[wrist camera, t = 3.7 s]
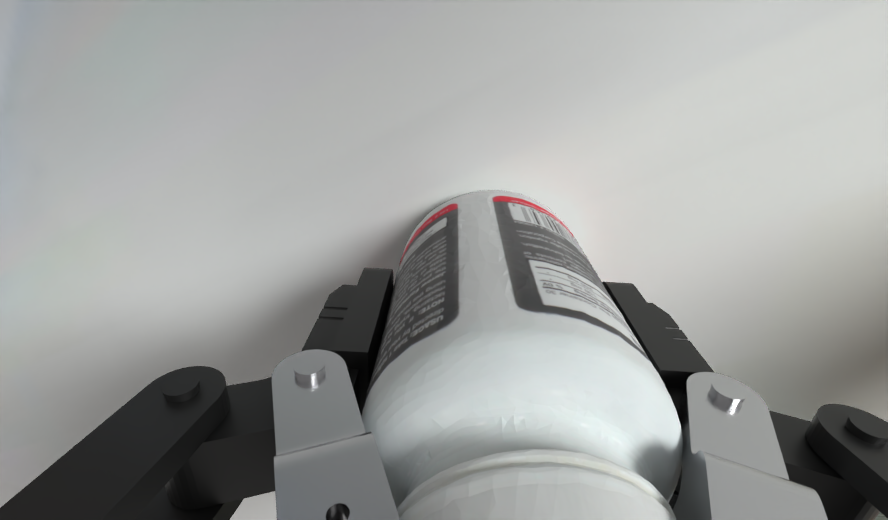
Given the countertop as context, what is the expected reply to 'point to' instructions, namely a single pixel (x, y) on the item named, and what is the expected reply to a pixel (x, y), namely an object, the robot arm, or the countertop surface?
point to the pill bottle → (515, 377)
